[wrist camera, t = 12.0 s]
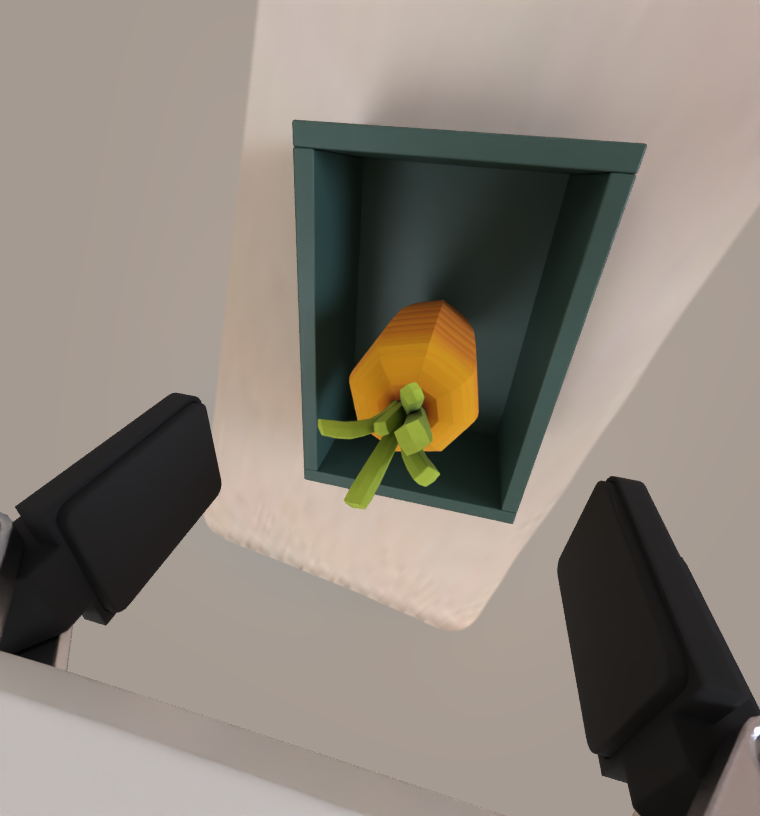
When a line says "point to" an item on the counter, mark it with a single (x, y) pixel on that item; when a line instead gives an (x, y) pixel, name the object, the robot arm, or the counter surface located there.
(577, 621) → the robot arm
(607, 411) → the counter surface
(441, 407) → the carrot
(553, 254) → the bin
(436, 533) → the counter surface
